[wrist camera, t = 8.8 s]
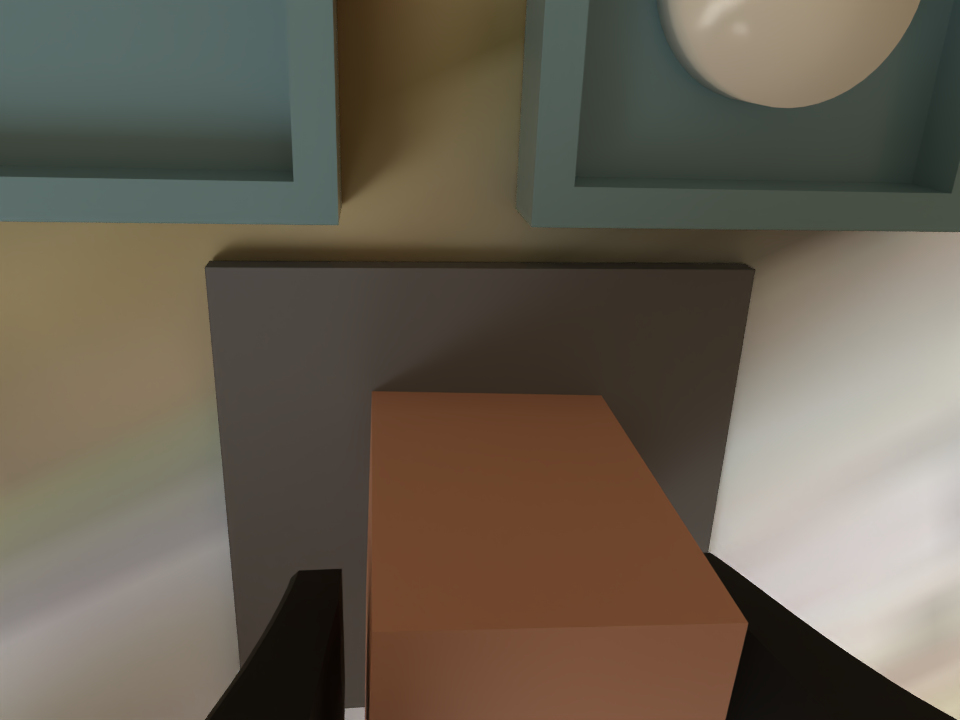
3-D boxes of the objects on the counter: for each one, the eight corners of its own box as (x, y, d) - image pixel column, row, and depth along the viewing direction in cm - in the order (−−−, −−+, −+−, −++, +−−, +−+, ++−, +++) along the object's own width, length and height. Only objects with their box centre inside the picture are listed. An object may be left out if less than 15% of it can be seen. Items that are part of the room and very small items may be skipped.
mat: (678, 671, 17) (685, 686, 17) (247, 699, 16) (244, 715, 16) (745, 263, 14) (754, 269, 14) (209, 260, 13) (204, 267, 13)
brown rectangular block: (578, 584, 16) (691, 882, 10) (366, 587, 15) (363, 905, 10) (605, 395, 14) (754, 622, 9) (372, 390, 14) (372, 632, 8)
